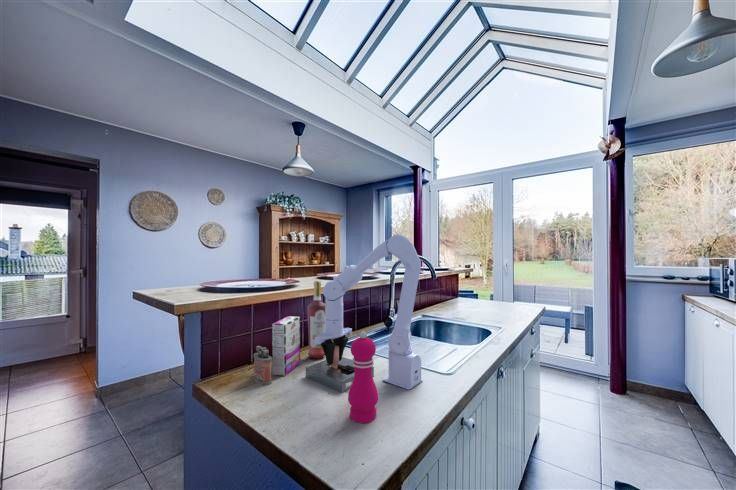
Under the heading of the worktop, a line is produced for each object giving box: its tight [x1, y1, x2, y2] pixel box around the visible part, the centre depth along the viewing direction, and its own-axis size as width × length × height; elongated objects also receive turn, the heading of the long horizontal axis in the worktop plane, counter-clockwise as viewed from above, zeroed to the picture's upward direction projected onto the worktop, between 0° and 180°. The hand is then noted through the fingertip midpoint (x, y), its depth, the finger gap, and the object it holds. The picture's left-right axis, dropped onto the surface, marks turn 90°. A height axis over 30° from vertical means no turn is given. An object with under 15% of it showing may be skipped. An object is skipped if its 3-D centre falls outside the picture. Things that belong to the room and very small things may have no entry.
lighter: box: [252, 345, 273, 387], centre depth 90 cm, size 8×3×10 cm, turn 47°
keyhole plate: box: [305, 356, 375, 393], centre depth 93 cm, size 16×14×3 cm
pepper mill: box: [347, 330, 379, 424], centre depth 71 cm, size 7×7×20 cm
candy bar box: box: [271, 315, 301, 377], centre depth 99 cm, size 11×5×16 cm, turn 168°
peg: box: [330, 345, 342, 373], centre depth 94 cm, size 4×4×9 cm
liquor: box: [307, 280, 326, 360], centre depth 111 cm, size 7×7×28 cm
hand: (334, 361), depth 94 cm, fingers closed on peg, 3 cm apart
